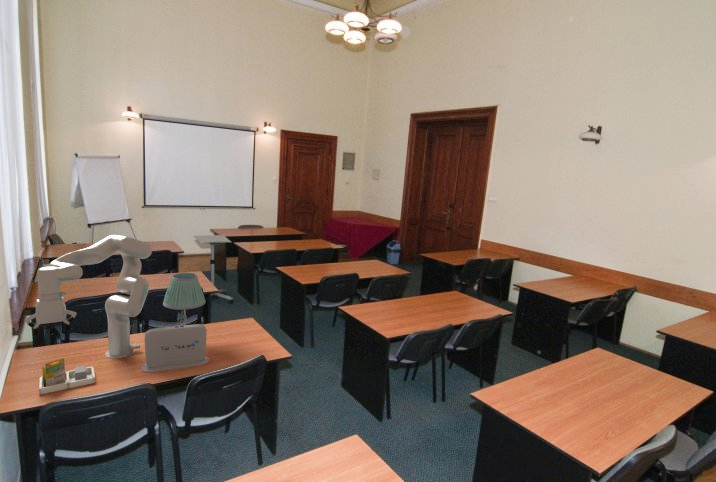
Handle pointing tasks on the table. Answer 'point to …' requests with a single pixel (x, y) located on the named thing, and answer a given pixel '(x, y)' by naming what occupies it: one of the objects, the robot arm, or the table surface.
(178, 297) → the table lamp
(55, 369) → the crayon box
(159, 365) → the wireless router
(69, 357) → the table surface
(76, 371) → the grey block
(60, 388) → the divided tray
